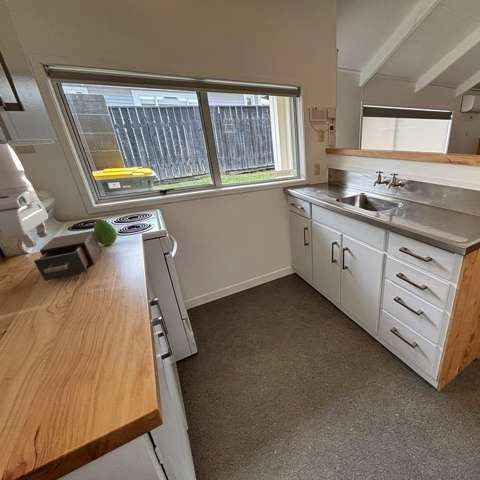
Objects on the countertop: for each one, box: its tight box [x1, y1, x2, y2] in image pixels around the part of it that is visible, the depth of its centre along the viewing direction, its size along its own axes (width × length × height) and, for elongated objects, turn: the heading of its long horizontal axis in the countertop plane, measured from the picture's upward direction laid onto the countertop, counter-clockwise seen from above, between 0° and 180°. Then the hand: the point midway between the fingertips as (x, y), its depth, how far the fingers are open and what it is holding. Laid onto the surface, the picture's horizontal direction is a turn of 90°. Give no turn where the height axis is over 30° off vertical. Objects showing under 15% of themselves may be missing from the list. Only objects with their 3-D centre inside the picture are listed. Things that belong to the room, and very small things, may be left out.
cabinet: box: [39, 230, 103, 267], centre depth 101 cm, size 15×13×10 cm
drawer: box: [33, 245, 90, 282], centre depth 93 cm, size 18×11×8 cm, turn 29°
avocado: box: [93, 219, 118, 246], centre depth 117 cm, size 8×8×12 cm
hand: (38, 241), depth 79 cm, fingers open, 8 cm apart
